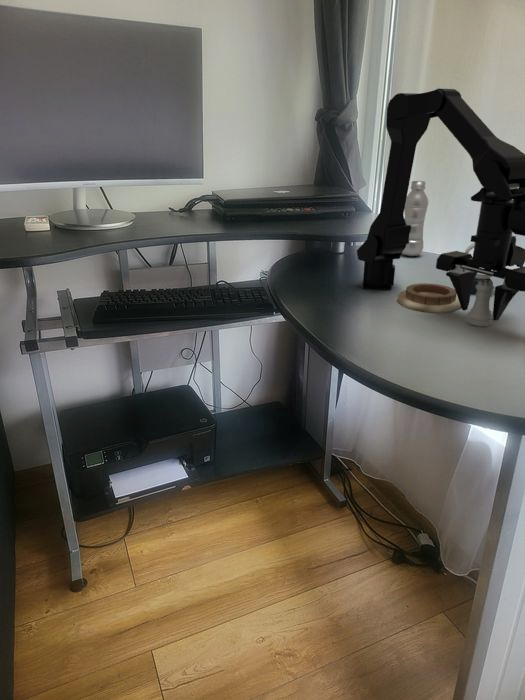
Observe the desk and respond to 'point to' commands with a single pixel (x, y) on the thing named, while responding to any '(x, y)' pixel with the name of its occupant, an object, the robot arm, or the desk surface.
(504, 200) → the robot arm
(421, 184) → the plastic bottle
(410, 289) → the well tray
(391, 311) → the desk surface
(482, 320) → the rook chess piece
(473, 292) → the watch
